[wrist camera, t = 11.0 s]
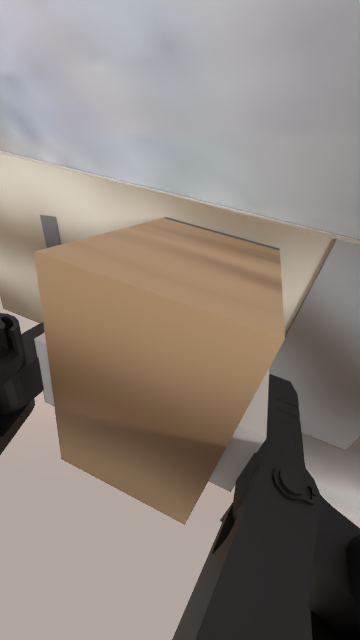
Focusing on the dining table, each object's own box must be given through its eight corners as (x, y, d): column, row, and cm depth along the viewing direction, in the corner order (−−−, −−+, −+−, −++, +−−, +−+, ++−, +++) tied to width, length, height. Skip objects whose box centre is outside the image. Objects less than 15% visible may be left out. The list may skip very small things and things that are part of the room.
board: (-8, 148, 14) (-40, 144, 12) (478, 269, 9) (514, 284, 8) (21, 300, 19) (0, 309, 18) (338, 425, 15) (345, 450, 13)
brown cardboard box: (166, 217, 11) (34, 251, 5) (279, 248, 10) (284, 339, 4) (145, 353, 15) (61, 459, 9) (223, 384, 14) (184, 524, 8)
